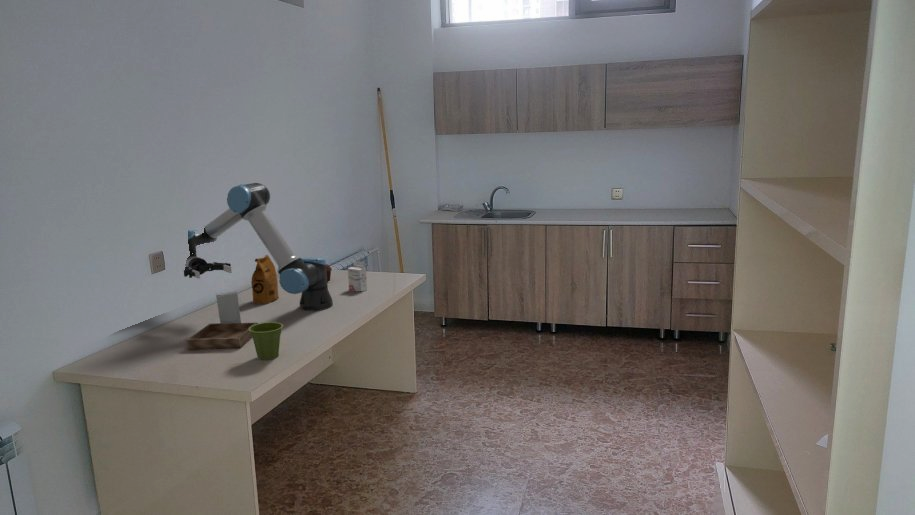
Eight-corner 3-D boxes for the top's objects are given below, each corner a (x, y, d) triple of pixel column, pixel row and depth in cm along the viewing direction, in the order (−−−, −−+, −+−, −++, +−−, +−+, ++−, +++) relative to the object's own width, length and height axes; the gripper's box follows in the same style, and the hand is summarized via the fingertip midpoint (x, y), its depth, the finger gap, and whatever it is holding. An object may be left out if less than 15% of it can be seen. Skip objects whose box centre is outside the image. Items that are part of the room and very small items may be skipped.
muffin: (327, 284, 326) (325, 266, 324) (308, 284, 328) (306, 266, 326) (335, 279, 338) (334, 261, 336) (317, 278, 340) (315, 261, 338)
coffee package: (249, 303, 292) (245, 259, 288) (264, 297, 304) (260, 254, 299) (268, 304, 289) (263, 259, 285) (282, 297, 301) (277, 254, 297)
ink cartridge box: (348, 290, 312) (346, 262, 309) (355, 288, 316) (353, 260, 313) (361, 292, 307) (359, 263, 304) (367, 289, 311) (365, 261, 308)
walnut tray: (258, 331, 248) (258, 322, 247) (240, 348, 228) (239, 338, 228) (210, 332, 249) (209, 323, 248) (188, 349, 229) (186, 339, 228)
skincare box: (240, 323, 261) (236, 289, 258) (241, 327, 255) (238, 292, 253) (219, 326, 257) (215, 292, 254) (220, 330, 252) (216, 295, 249)
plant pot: (267, 364, 211) (263, 333, 209) (244, 359, 217) (241, 329, 215) (292, 354, 221) (290, 324, 219) (270, 349, 227) (267, 320, 225)
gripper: (224, 269, 283) (243, 276, 268) (168, 278, 267) (185, 286, 252) (222, 253, 282) (242, 259, 267) (166, 261, 265) (183, 268, 250)
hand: (215, 272), depth 259 cm, fingers open, 13 cm apart
